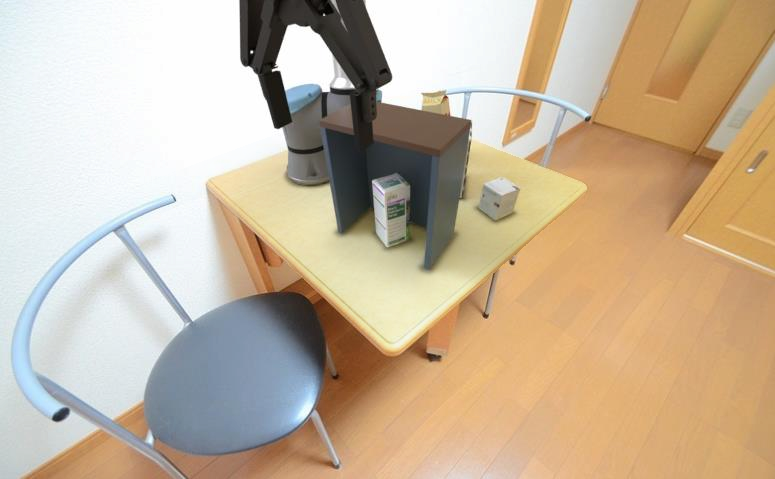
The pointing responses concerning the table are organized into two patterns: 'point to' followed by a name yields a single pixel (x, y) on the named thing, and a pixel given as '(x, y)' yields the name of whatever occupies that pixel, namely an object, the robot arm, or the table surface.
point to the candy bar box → (466, 162)
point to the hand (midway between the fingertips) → (321, 135)
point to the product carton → (498, 198)
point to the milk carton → (436, 103)
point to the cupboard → (399, 167)
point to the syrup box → (392, 209)
